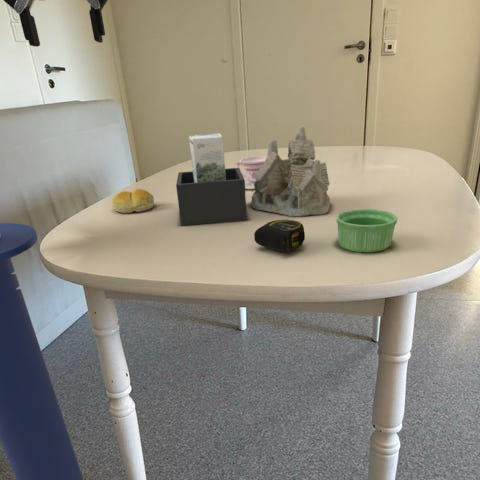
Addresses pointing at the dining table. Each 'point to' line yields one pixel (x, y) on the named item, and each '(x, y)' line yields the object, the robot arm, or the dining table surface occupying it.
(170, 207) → the dining table surface
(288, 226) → the tape measure
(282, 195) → the ceramic cottage
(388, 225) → the ramekin
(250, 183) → the pink white round vessel
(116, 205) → the bread roll
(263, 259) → the dining table surface
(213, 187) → the bin
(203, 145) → the syrup box
